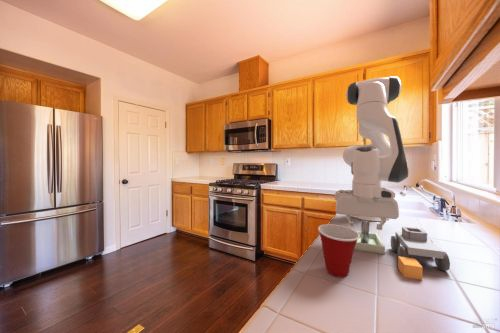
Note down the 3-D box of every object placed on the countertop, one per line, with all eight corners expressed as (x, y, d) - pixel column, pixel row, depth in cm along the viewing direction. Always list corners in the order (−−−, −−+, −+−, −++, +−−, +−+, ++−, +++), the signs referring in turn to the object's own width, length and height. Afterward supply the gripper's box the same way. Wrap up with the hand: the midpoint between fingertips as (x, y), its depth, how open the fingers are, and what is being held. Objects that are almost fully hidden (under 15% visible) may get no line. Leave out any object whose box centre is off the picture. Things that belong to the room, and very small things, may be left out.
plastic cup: (346, 288, 51) (346, 240, 51) (309, 270, 60) (309, 228, 59) (367, 274, 57) (367, 231, 57) (331, 258, 66) (331, 221, 66)
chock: (422, 280, 55) (422, 267, 55) (404, 277, 56) (404, 264, 56) (414, 270, 59) (414, 258, 59) (398, 268, 61) (398, 256, 61)
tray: (348, 236, 85) (348, 230, 85) (377, 239, 81) (377, 233, 81) (350, 249, 73) (350, 242, 73) (384, 254, 69) (384, 246, 69)
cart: (390, 247, 74) (390, 224, 74) (428, 252, 70) (429, 227, 70) (402, 266, 61) (402, 238, 61) (449, 274, 57) (450, 243, 57)
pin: (360, 240, 79) (361, 220, 78) (368, 241, 78) (368, 220, 77) (361, 243, 76) (361, 222, 76) (369, 244, 75) (370, 223, 75)
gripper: (334, 190, 77) (334, 227, 78) (400, 193, 70) (400, 234, 70) (334, 188, 83) (334, 222, 84) (395, 191, 76) (394, 228, 76)
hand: (364, 228), depth 77 cm, fingers open, 8 cm apart
